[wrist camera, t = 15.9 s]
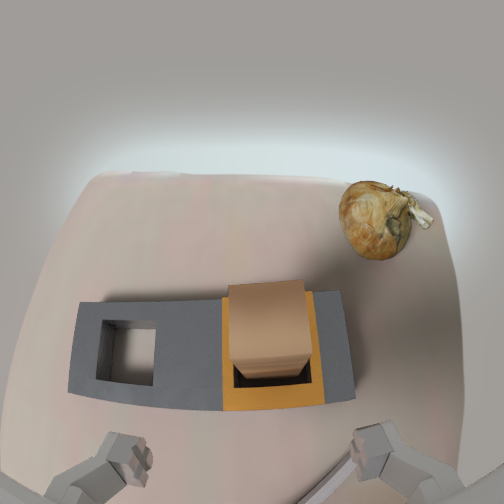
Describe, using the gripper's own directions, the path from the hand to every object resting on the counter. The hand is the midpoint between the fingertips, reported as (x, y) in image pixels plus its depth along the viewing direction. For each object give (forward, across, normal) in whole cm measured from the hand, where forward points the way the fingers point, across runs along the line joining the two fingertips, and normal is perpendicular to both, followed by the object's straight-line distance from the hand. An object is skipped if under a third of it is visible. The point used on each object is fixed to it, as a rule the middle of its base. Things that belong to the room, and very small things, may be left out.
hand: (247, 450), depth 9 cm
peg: (+13, -1, +4) cm, 14 cm away
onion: (+21, -12, -3) cm, 24 cm away
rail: (+13, +5, +4) cm, 15 cm away
